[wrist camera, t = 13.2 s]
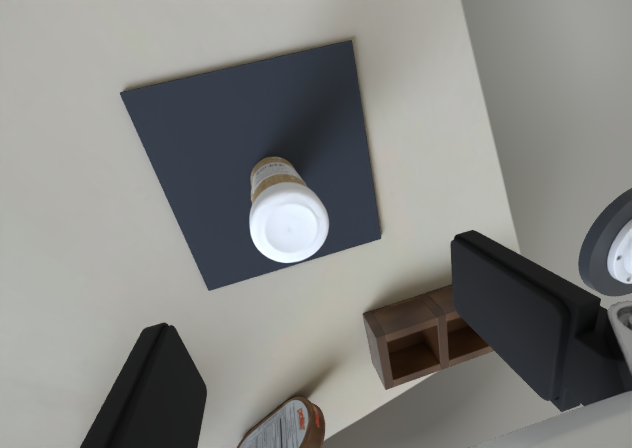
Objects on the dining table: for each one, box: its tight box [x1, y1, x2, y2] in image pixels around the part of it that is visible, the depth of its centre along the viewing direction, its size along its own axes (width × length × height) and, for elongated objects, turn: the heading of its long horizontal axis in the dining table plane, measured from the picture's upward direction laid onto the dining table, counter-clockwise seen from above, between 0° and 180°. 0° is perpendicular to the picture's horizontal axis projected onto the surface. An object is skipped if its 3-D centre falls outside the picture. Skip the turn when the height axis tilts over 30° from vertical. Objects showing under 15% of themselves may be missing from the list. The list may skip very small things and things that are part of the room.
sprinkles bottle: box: [249, 157, 329, 263], centre depth 22 cm, size 5×5×14 cm
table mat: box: [120, 40, 381, 291], centre depth 29 cm, size 20×20×1 cm
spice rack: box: [363, 285, 494, 390], centre depth 38 cm, size 17×9×4 cm, turn 101°
